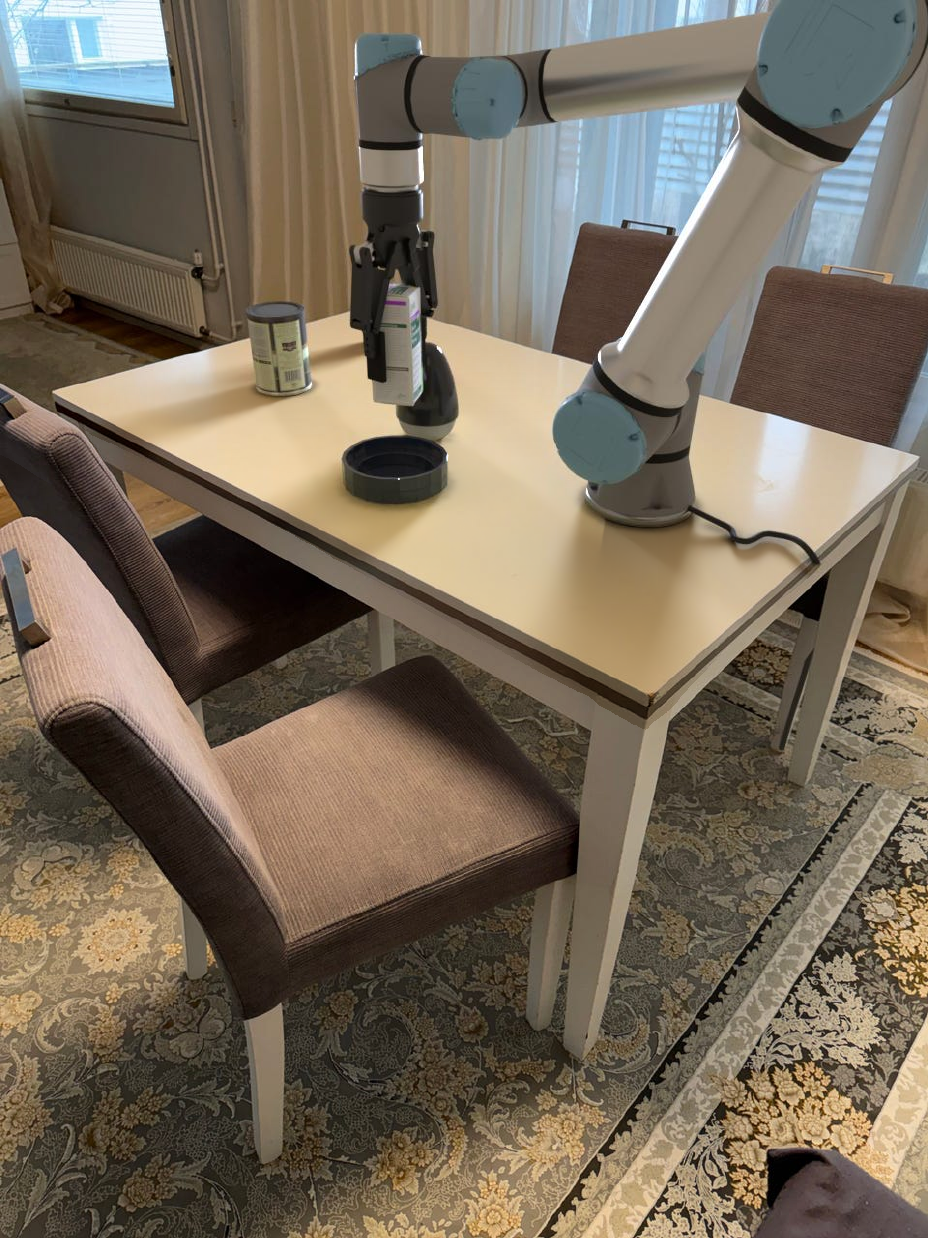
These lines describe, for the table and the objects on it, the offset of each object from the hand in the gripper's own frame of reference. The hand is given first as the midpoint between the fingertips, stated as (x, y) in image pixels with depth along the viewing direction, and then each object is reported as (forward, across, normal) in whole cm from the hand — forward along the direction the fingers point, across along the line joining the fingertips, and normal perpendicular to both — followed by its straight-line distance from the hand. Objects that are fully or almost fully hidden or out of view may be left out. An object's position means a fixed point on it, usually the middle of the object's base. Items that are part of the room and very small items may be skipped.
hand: (397, 371), depth 119 cm
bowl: (+17, 0, -1) cm, 17 cm away
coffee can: (+17, -18, -44) cm, 50 cm away
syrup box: (+4, 0, 0) cm, 4 cm away
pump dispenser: (+17, -17, -9) cm, 26 cm away
